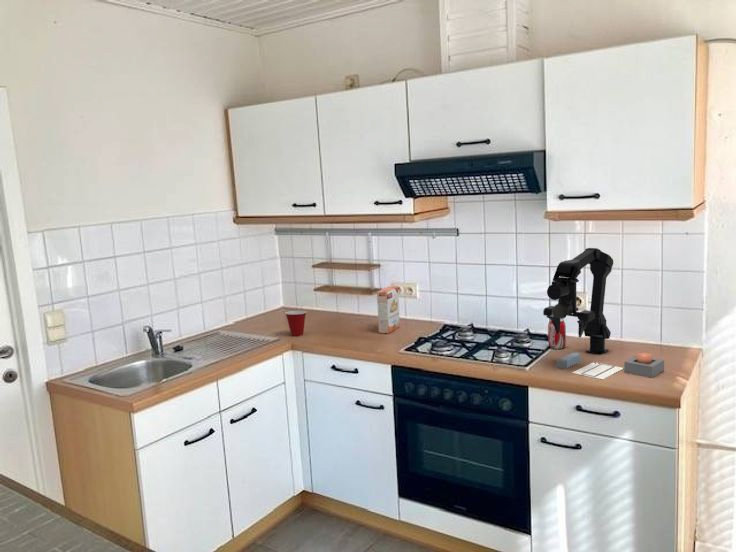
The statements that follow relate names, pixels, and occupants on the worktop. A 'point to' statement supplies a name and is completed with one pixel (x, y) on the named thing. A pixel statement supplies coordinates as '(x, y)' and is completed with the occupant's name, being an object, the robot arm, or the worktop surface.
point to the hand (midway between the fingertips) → (568, 335)
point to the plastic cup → (296, 322)
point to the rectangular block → (568, 360)
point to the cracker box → (388, 309)
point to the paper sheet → (598, 370)
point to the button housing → (644, 367)
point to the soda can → (557, 335)
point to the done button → (644, 358)
